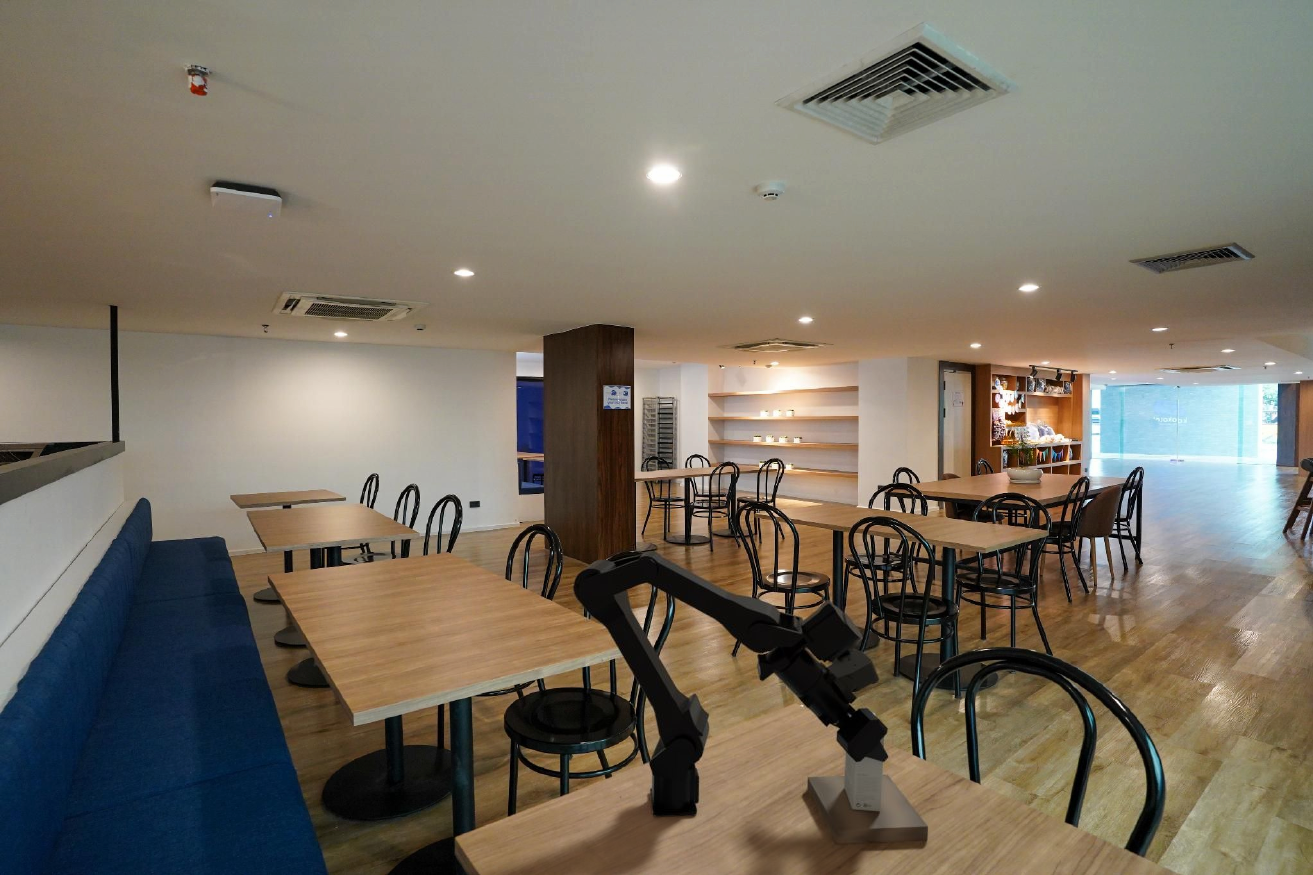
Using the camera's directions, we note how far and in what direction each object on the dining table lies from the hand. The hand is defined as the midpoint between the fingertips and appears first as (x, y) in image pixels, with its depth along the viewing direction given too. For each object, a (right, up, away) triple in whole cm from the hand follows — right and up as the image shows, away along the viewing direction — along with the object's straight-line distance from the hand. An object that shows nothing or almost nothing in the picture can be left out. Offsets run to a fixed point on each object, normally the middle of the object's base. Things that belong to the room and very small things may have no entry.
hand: (874, 746), depth 98 cm
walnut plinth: (-1, -10, 0) cm, 10 cm away
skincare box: (-2, -8, 0) cm, 8 cm away
